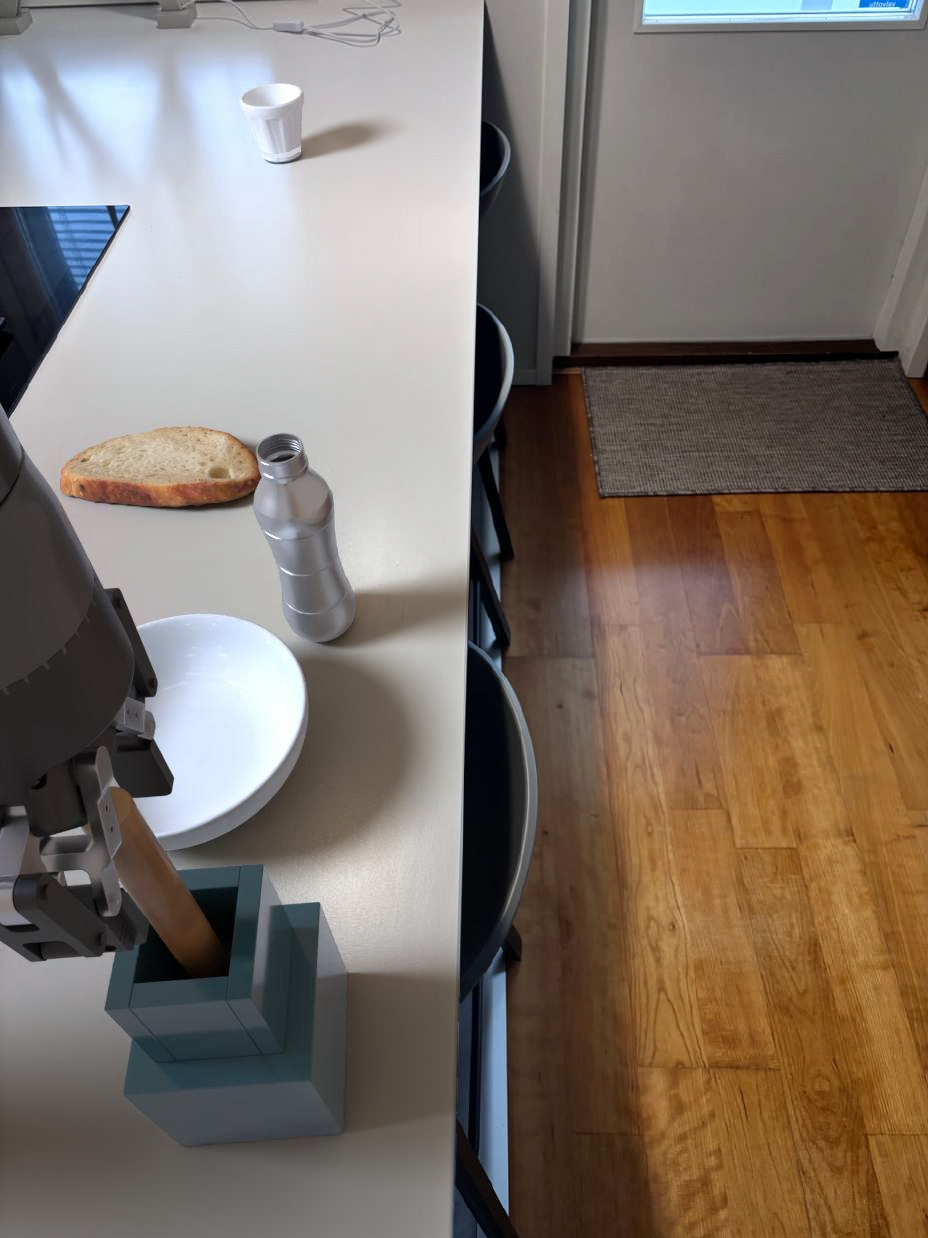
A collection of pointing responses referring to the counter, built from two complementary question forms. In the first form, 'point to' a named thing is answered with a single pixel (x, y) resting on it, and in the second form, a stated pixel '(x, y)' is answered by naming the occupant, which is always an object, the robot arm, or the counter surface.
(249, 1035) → the utensil holder
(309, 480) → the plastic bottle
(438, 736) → the counter surface
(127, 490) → the bread slice
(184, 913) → the stick
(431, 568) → the counter surface
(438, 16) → the counter surface
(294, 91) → the cup
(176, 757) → the serving bowl
